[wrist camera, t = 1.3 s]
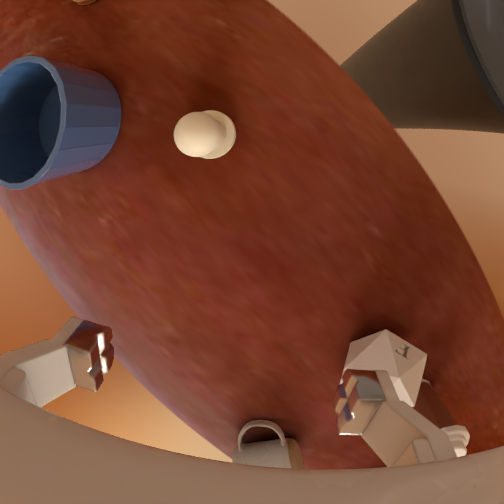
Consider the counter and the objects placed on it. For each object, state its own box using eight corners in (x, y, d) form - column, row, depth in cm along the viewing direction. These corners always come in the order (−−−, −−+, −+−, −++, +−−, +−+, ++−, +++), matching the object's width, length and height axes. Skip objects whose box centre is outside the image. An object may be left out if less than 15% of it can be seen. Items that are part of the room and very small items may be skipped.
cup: (92, 50, 23) (36, 29, 14) (140, 129, 25) (89, 130, 17) (26, 115, 25) (-35, 120, 16) (66, 191, 28) (8, 215, 19)
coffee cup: (363, 405, 36) (384, 482, 24) (418, 359, 33) (457, 433, 22) (401, 425, 37) (423, 491, 26) (450, 385, 35) (485, 449, 23)
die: (415, 353, 33) (456, 353, 24) (376, 419, 32) (407, 440, 22) (358, 319, 35) (385, 309, 26) (317, 386, 34) (331, 400, 24)
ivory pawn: (220, 102, 24) (202, 89, 17) (245, 141, 26) (237, 144, 18) (180, 128, 25) (149, 126, 18) (204, 166, 26) (182, 178, 19)
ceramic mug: (305, 452, 39) (308, 495, 32) (252, 462, 41) (249, 503, 33) (285, 410, 36) (286, 459, 29) (223, 422, 37) (216, 468, 30)
